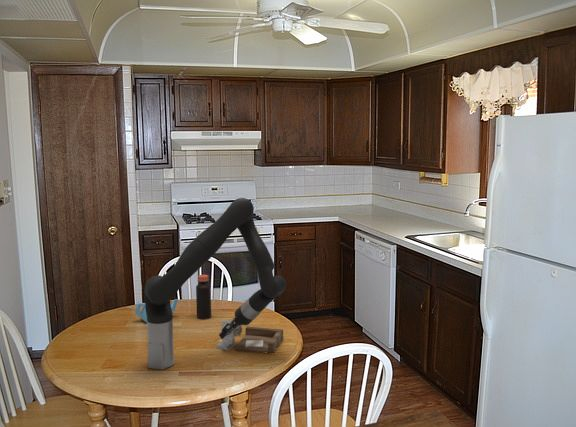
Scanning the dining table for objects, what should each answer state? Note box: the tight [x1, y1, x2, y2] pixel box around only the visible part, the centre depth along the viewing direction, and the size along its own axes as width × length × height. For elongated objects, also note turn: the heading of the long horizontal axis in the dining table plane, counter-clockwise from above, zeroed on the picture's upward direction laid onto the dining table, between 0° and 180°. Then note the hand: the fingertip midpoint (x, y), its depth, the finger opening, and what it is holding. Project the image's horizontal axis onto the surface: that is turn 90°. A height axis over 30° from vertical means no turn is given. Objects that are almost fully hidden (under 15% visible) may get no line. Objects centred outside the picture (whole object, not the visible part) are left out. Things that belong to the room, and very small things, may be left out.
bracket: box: [216, 319, 236, 351], centre depth 210 cm, size 6×5×10 cm
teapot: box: [134, 298, 179, 324], centre depth 242 cm, size 15×15×11 cm
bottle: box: [195, 274, 212, 320], centre depth 244 cm, size 7×7×20 cm
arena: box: [233, 325, 284, 354], centre depth 213 cm, size 16×16×4 cm
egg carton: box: [226, 319, 242, 336], centre depth 227 cm, size 11×8×4 cm
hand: (224, 334), depth 212 cm, fingers open, 4 cm apart
